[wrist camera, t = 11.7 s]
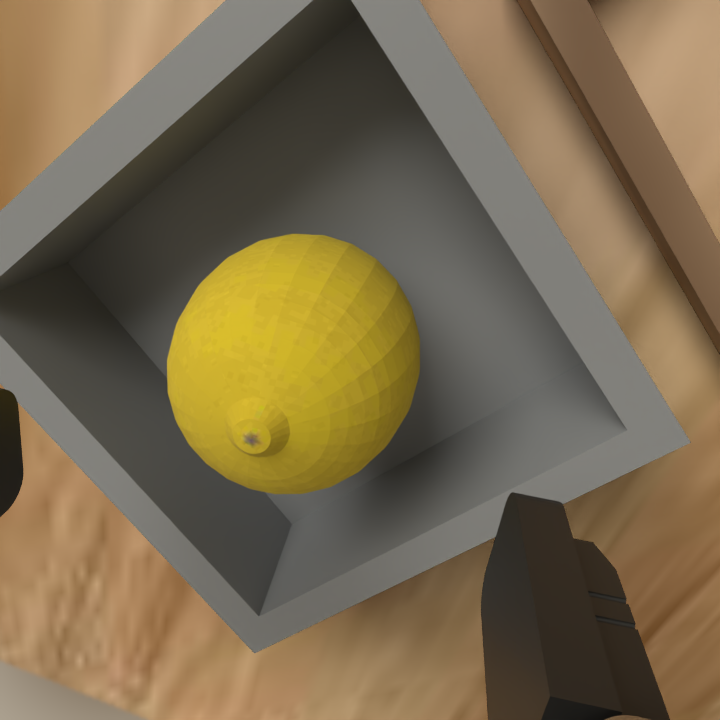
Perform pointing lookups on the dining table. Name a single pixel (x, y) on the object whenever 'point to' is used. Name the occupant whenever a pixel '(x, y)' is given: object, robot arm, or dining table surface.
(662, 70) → the dining table surface
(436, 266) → the bin
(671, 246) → the holder
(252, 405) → the lemon
